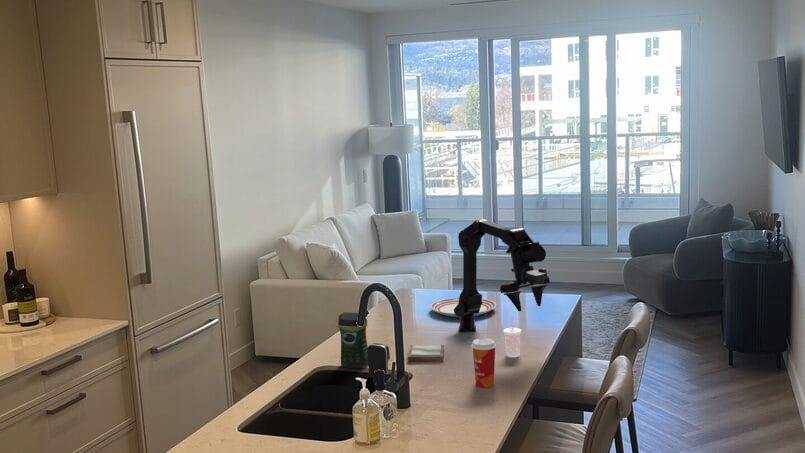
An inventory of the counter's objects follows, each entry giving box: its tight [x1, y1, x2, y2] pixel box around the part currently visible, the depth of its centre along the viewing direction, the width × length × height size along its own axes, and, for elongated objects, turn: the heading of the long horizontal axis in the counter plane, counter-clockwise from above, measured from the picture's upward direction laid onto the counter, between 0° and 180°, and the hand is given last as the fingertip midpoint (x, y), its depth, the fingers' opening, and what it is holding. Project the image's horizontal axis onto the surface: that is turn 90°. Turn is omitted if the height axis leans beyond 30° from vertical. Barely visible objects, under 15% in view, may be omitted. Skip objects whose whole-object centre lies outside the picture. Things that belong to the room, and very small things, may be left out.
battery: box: [367, 342, 391, 379], centre depth 254 cm, size 7×4×11 cm, turn 63°
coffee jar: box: [337, 311, 369, 369], centre depth 267 cm, size 10×8×19 cm
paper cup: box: [471, 337, 497, 389], centre depth 244 cm, size 8×8×14 cm
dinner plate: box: [429, 297, 497, 319], centre depth 326 cm, size 28×27×3 cm
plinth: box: [407, 344, 445, 363], centre depth 274 cm, size 12×12×2 cm
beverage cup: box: [503, 315, 522, 358], centre depth 270 cm, size 6×6×14 cm
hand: (529, 308), depth 271 cm, fingers open, 9 cm apart
